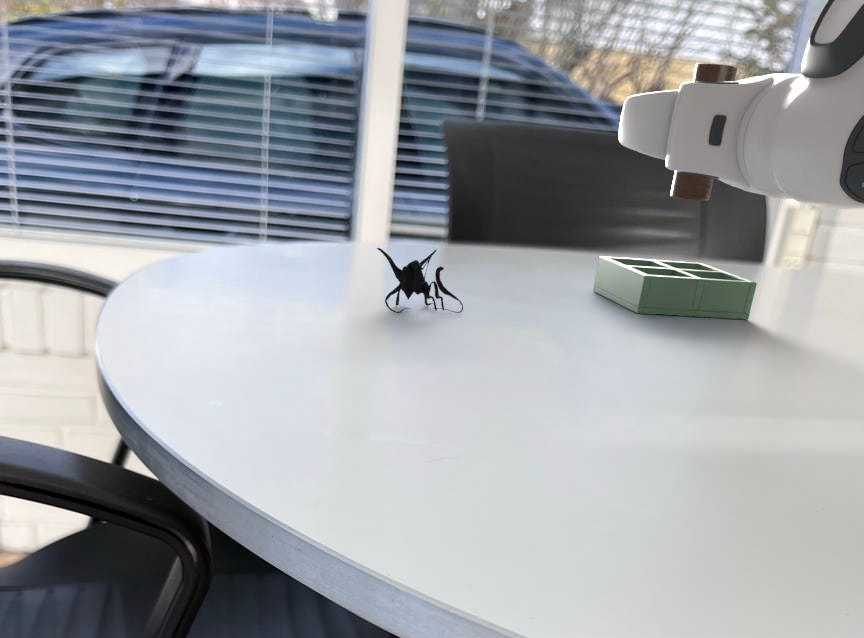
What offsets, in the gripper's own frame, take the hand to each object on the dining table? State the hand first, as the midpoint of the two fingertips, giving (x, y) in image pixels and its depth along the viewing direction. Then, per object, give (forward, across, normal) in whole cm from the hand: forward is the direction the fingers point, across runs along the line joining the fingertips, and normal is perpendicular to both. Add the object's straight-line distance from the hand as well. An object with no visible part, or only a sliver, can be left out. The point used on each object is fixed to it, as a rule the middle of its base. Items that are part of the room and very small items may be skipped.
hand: (699, 126), depth 97 cm
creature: (-4, +26, +17) cm, 31 cm away
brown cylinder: (-1, 0, +6) cm, 6 cm away
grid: (+6, -3, +17) cm, 18 cm away
